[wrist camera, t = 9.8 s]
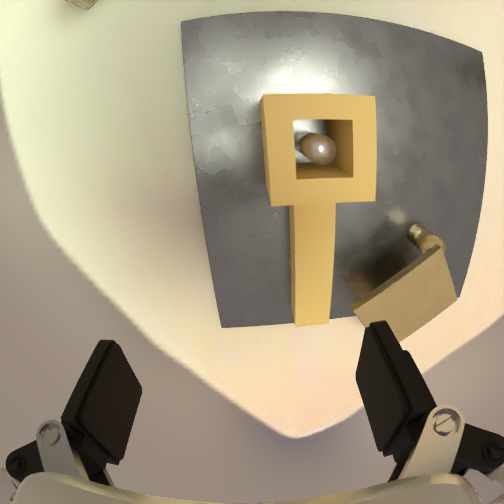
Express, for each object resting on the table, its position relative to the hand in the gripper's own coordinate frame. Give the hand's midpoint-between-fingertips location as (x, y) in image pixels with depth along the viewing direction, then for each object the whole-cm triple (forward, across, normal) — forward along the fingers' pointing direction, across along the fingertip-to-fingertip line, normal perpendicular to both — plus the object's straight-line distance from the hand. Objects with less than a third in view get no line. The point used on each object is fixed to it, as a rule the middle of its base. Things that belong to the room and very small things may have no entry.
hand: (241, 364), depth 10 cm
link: (+15, -5, 0) cm, 16 cm away
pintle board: (+15, -11, -2) cm, 19 cm away
